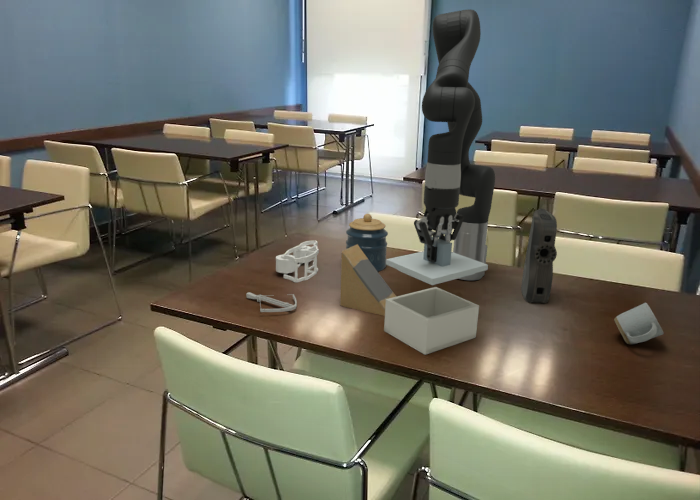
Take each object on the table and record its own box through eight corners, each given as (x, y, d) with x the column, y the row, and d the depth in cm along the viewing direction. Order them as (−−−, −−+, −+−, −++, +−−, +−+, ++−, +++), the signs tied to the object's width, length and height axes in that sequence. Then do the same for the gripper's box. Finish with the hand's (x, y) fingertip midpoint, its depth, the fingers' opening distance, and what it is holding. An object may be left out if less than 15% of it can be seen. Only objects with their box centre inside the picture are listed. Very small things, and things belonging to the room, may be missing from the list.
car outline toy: (301, 260, 178) (301, 238, 176) (331, 265, 174) (332, 243, 172) (269, 278, 161) (269, 254, 158) (302, 284, 157) (302, 260, 154)
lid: (439, 257, 133) (441, 227, 131) (487, 274, 122) (490, 243, 119) (385, 269, 124) (387, 238, 121) (431, 289, 112) (434, 255, 110)
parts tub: (433, 316, 137) (435, 286, 135) (475, 337, 126) (479, 305, 124) (384, 330, 128) (385, 299, 126) (425, 354, 117) (427, 320, 115)
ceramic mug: (626, 345, 128) (611, 315, 130) (663, 333, 125) (647, 302, 127) (627, 347, 119) (611, 314, 121) (666, 334, 116) (649, 300, 118)
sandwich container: (392, 319, 135) (396, 261, 131) (339, 305, 142) (340, 251, 138) (406, 307, 142) (410, 253, 138) (355, 295, 149) (357, 243, 145)
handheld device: (526, 307, 145) (539, 216, 138) (514, 287, 159) (524, 203, 152) (549, 308, 144) (563, 217, 137) (535, 288, 159) (547, 204, 152)
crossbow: (309, 304, 143) (309, 297, 142) (277, 320, 133) (277, 312, 132) (264, 290, 152) (263, 284, 151) (230, 304, 141) (230, 297, 141)
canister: (387, 275, 165) (390, 219, 160) (344, 274, 165) (346, 218, 160) (385, 262, 178) (387, 209, 173) (345, 261, 178) (347, 208, 173)
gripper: (452, 178, 123) (446, 251, 129) (406, 184, 116) (402, 261, 121) (477, 183, 118) (470, 259, 123) (431, 190, 110) (425, 270, 115)
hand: (436, 260), depth 122 cm, fingers closed on lid, 2 cm apart
